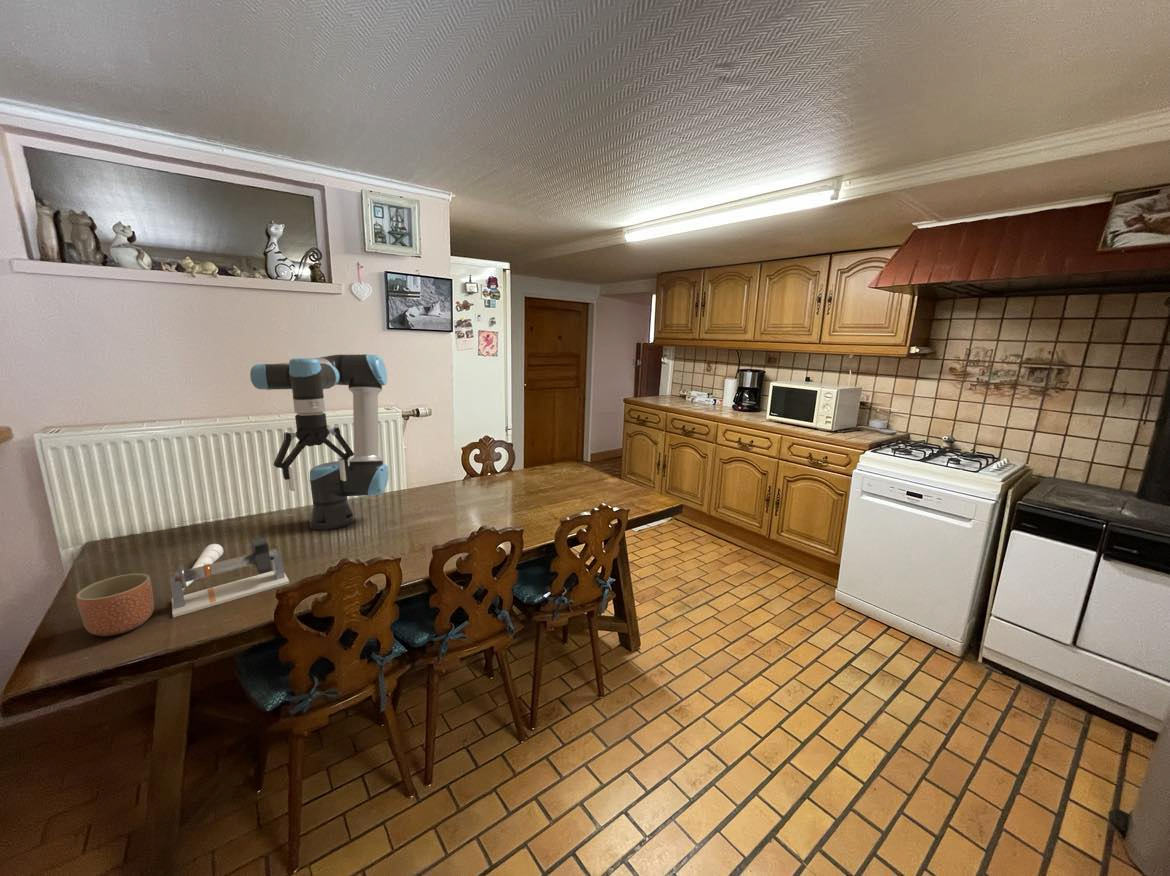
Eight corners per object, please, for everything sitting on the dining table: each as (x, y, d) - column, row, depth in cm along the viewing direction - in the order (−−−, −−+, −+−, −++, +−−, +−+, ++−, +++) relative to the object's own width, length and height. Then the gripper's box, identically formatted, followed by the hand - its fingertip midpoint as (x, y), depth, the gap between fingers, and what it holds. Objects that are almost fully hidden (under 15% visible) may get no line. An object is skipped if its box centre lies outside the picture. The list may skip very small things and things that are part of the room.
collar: (255, 565, 132) (251, 539, 130) (267, 562, 134) (263, 536, 132) (259, 574, 127) (254, 547, 125) (271, 571, 129) (268, 543, 127)
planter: (73, 636, 107) (63, 593, 105) (139, 608, 118) (131, 569, 116) (103, 648, 102) (93, 604, 100) (169, 618, 114) (161, 578, 112)
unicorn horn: (162, 595, 124) (159, 579, 123) (208, 557, 147) (205, 543, 146) (183, 593, 126) (180, 577, 125) (225, 556, 148) (223, 542, 147)
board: (172, 601, 121) (171, 598, 121) (282, 570, 138) (282, 568, 138) (173, 617, 114) (172, 614, 114) (289, 583, 131) (289, 580, 131)
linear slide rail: (174, 603, 120) (167, 565, 118) (281, 573, 136) (277, 539, 134) (175, 613, 116) (167, 573, 114) (285, 581, 132) (281, 545, 130)
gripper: (260, 419, 118) (271, 497, 122) (361, 410, 136) (367, 478, 140) (254, 416, 123) (265, 491, 128) (352, 407, 141) (358, 474, 145)
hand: (318, 484), depth 134 cm, fingers open, 13 cm apart
